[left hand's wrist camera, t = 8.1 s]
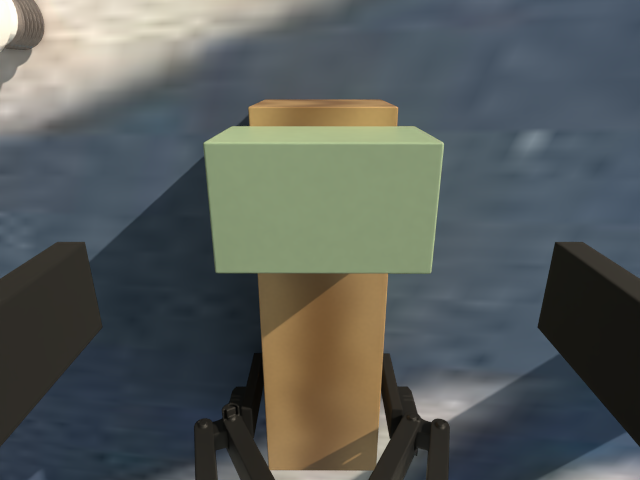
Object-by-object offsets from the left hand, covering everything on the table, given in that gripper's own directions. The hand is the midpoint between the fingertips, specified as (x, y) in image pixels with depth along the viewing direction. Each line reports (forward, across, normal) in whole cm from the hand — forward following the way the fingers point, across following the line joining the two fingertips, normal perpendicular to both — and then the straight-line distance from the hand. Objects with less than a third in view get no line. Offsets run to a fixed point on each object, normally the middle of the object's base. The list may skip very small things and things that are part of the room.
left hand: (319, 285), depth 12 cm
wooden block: (+20, 0, +9) cm, 22 cm away
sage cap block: (+13, 0, 0) cm, 13 cm away
